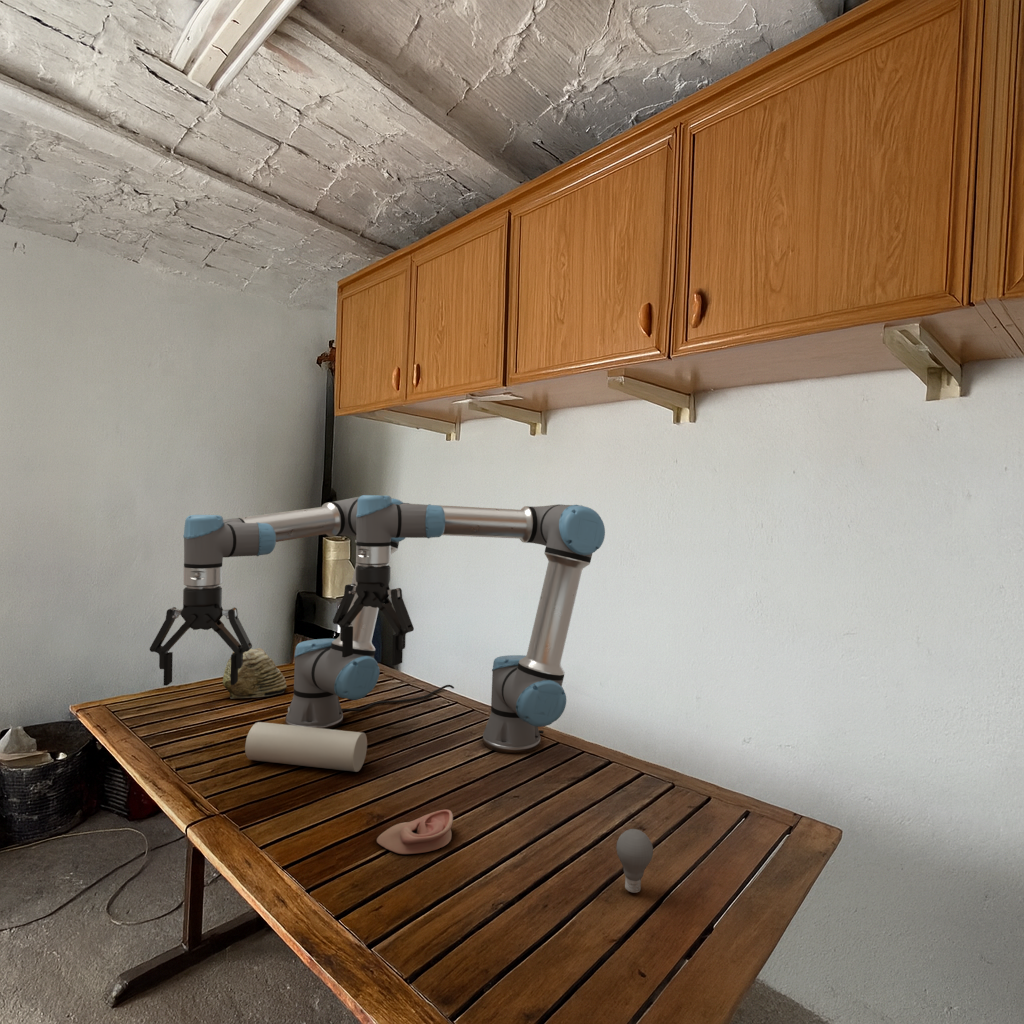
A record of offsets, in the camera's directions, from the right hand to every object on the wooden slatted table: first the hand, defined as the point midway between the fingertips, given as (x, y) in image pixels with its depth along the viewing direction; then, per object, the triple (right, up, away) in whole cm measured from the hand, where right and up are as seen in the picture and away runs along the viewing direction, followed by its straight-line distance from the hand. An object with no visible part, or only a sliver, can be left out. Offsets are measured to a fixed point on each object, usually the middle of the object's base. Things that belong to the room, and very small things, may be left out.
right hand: (371, 660), depth 141 cm
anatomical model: (+13, -29, -22) cm, 38 cm away
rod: (-17, -27, +9) cm, 33 cm away
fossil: (-49, -24, +57) cm, 79 cm away
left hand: (-36, -4, -3) cm, 37 cm away
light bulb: (+51, -31, -35) cm, 69 cm away
